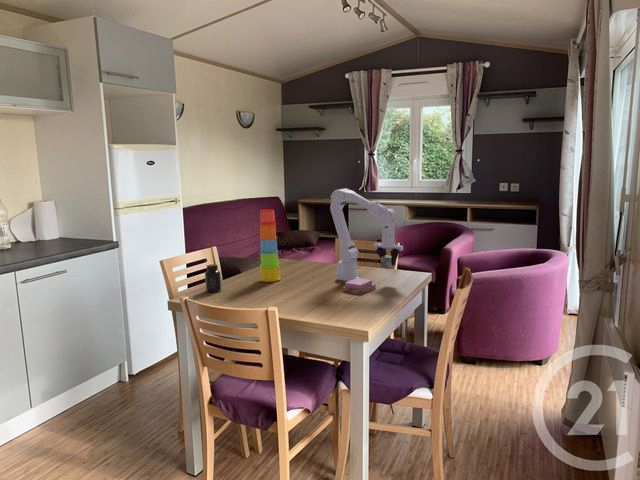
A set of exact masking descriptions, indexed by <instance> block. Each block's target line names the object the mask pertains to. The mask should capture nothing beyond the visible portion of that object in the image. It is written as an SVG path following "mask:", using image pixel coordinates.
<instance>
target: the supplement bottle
mask: <svg viewBox="0 0 640 480" xmlns="http://www.w3.org/2000/svg"><path fill="white" fill-rule="evenodd" d="M206 270H207V271H206V272H205V273H204V275H205V276H204V280H205V281H204V282H205V291H206V292H207V293H211V294H212V293H213V294H215V293H219V292H221V290H222V279H221V276H222V275H221V272H220V270H219V268H218V264H215V263H214V264H208V265H207V264H206Z"/></svg>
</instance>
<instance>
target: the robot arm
mask: <svg viewBox="0 0 640 480" xmlns="http://www.w3.org/2000/svg"><path fill="white" fill-rule="evenodd" d="M329 197H330V200H331V201H330V207H329V209H330V213H331V216H332V220H333V223H334V226H335V231H336V233H337V236H338V240H339V248H338V251H339V255H338V257H339V261H338V262H337V264H336V278H335V280H339V281H344V282H348V281H351V280H353V279H356V278H361V277H359V276H358V268H357V267H358V264H357V263H358V257H359V255H360V251H359V249H358V248H357V247H356V244H355V242H353V240H352V239H351V235H350V233H349V229H348V225H347V222H346V219H345V215H344V211H343V208H344V207H345V205H346V204H347V203H348V202H354V203H356V204H358V205H360V206H362V207H364V208H365V209H367V212H368V213H369V214H371V215H373V216H375V217H377V218H379V219H380V220H381V242H379V243H378V242H375V243H373V248H374V249H376V253H377V254H378V257H379V260H380V261H381V257H383V256H386V252H387V251H386V250H390V256H391V257H392V265H395V263H397V259H398V256H399V254H400V252H401V251H404V245H399V244H395V239H396V238H395V235H396V234H395V227H396V226H395V221H396V218H397V215H398V214H397V212H396V210H394V209H393V208H392V207H391V208H388V206H387V205H386V206H384V205H382V204H381V203H380V201H378V200H372V201H370V200H368V199H367V198H365V197H364V196H361V195H360V194H358V192H357V193H356V192H355V191H354V190H351V189H349V188H346V187H345V188H341V189H335V190H334V191H333V192H331V195H330V196H329Z"/></svg>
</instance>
